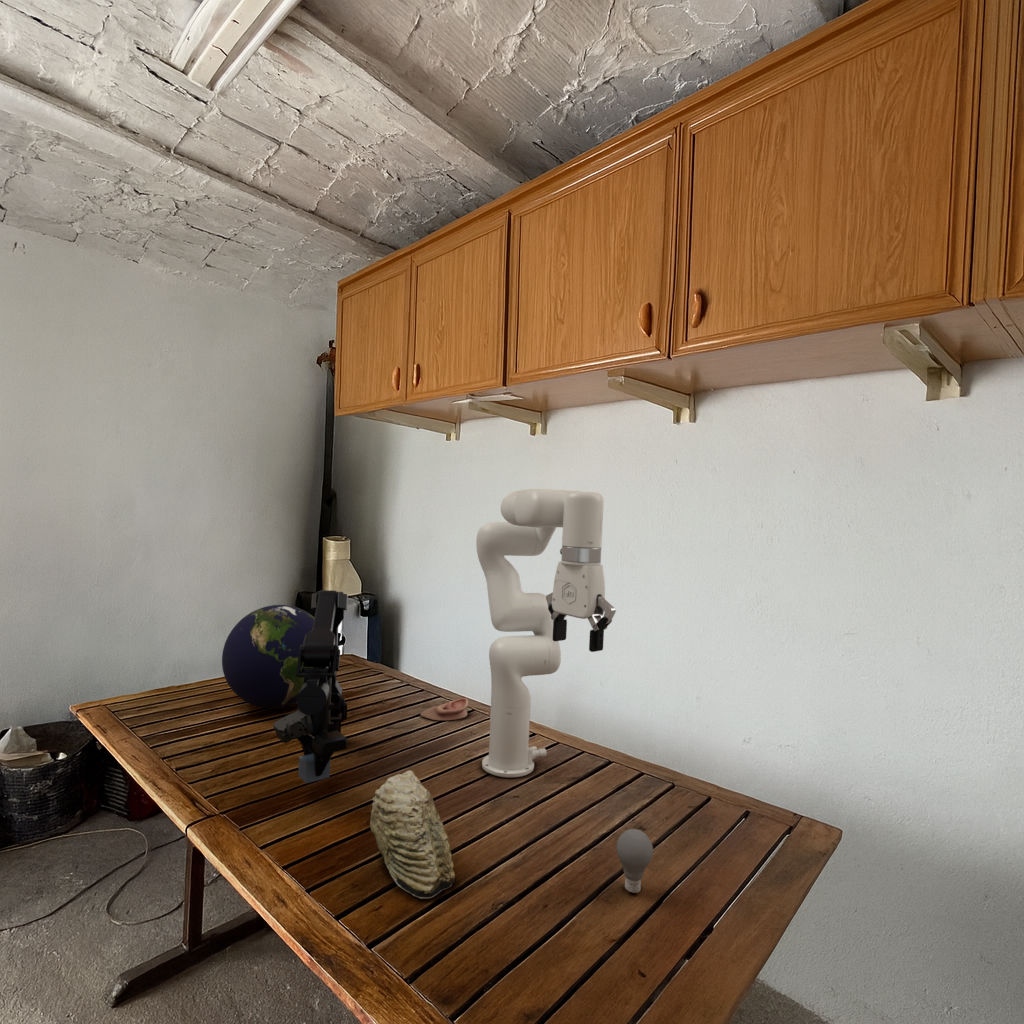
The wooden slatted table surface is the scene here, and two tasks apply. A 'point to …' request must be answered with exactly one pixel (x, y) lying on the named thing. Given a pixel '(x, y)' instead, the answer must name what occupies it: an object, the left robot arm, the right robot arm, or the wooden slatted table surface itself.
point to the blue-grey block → (311, 769)
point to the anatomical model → (447, 710)
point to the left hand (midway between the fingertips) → (314, 771)
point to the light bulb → (634, 857)
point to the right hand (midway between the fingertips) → (577, 645)
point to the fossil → (412, 836)
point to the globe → (267, 655)
